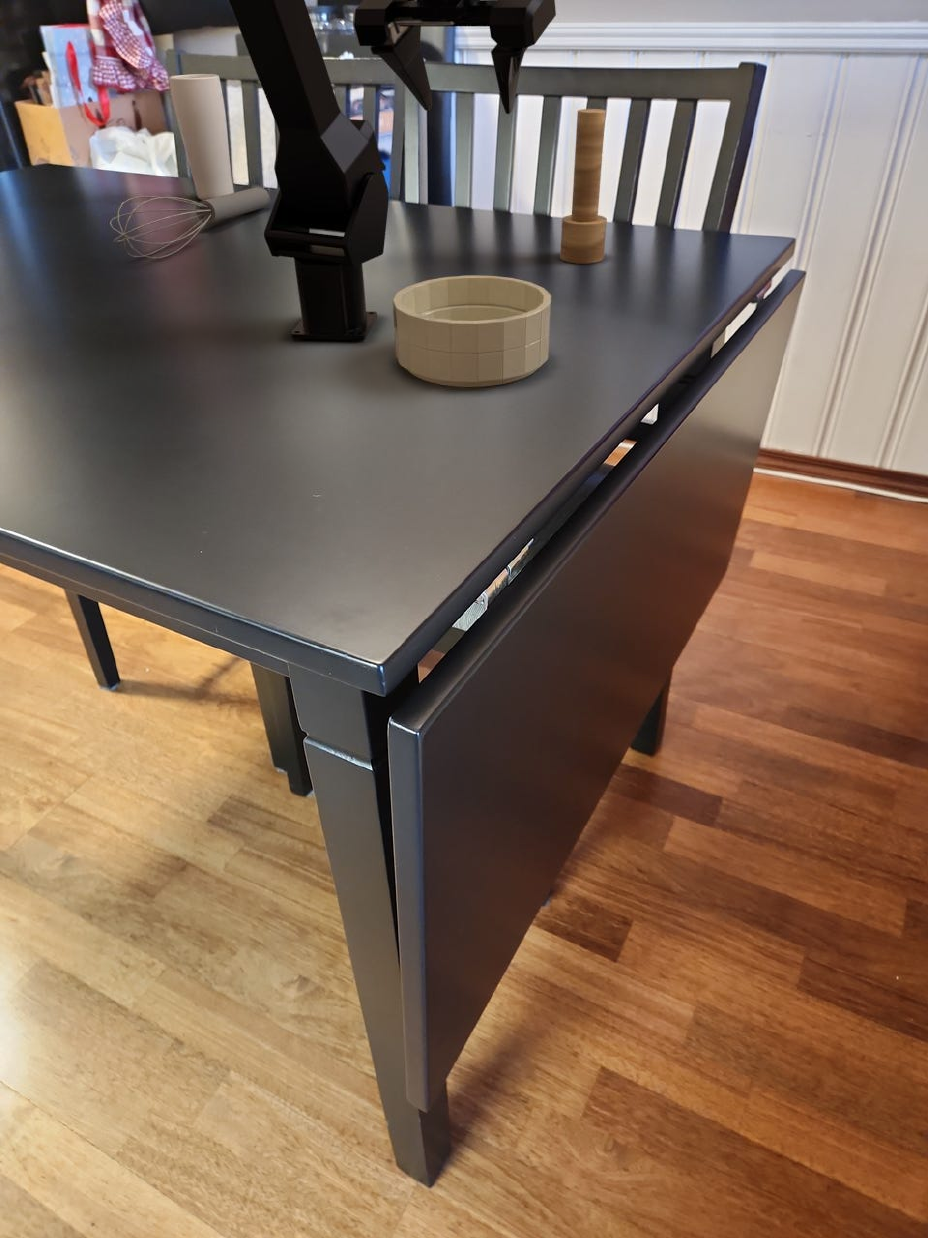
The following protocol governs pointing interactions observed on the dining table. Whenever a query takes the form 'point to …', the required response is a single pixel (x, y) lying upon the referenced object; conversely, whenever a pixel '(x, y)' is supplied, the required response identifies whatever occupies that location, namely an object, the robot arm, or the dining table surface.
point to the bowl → (472, 330)
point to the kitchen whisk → (204, 212)
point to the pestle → (586, 194)
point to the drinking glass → (203, 132)
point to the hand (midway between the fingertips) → (468, 109)
